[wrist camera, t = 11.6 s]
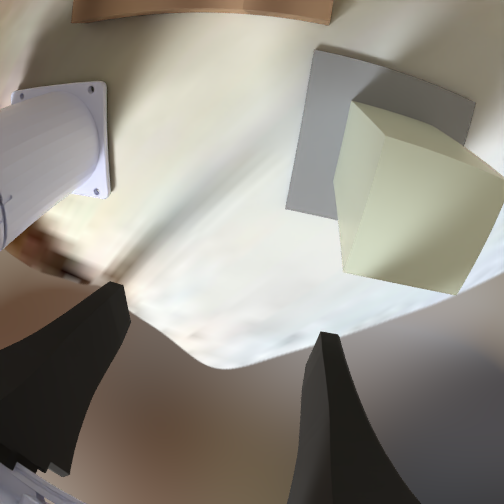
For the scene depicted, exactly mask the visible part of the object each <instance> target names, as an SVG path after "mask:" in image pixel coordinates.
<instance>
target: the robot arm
mask: <svg viewBox="0 0 504 504" xmlns="http://www.w3.org/2000/svg"><path fill="white" fill-rule="evenodd" d="M92 86H93V87H94V92H92V90H91V88H92ZM23 95H24V96H23ZM97 189H98V190H99V192H100V193H99V192H98V191H97ZM69 194H77V195H83V196H89V197H95V198H101V199H106V198H107V197H109V196H110V194H111V188H110V175H109V161H108V141H107V86H106V84H105V82H103V81H90V82H77V83H66V84H57V85H49V86H42V87H35V88H28V89H22V90H17V91H14V92H13V93H12V95H11V105H10V106H8V107H5V108H2V109H0V251H1V250H3V249H4V248H5V247H6V246H7V245H8V244H9V243H10V242H11V241H12V240H14V239H15V238H16V237H17V236H18V235H19V234H20V233H22V232H23V231H24V230H25V229H26V228H28V227H29V226H30V225H31V224H32V223H34V222H35V221H36V220H37V219H38V218H40V217H41V216H42V215H43V214H45V213H46V212H47V211H48V210H50V209H51V208H52V207H53V206H55V205H56V204H57V203H59V202H60V201H61V200H63V199H64V198H65V197H67V196H68V195H69ZM130 323H131V320H130V315H129V311H128V306H127V301H126V296H125V291H124V286H123V285H121V284H117V283H114V282H111V281H110V282H108V283H107V284H105V285H104V286H102V287H101V288H100V289H98V290H97V291H95V292H94V293H93V294H91V295H90V296H88V297H87V298H86V299H84V300H83V301H81V302H80V303H79V304H77V305H76V306H74V307H73V308H72V309H70V310H69V311H68V312H66V313H65V314H63V315H62V316H60V317H59V318H57V319H56V320H54V321H53V322H51V323H50V324H48V325H47V326H45V327H44V328H42V329H40V330H39V331H37V332H35V333H33V334H32V335H30V336H28V337H26V338H24V339H23V340H21V341H19V342H17V343H14V344H12V345H11V346H8V347H6V348H4V349H1V350H0V504H49V503H47V502H45V500H44V497H45V498H47V499H48V500H50V501H52V502H53V503H55V504H87V503H85V502H83V501H81V500H79V499H77V498H75V497H73V496H72V495H70V494H68V493H66V492H64V491H63V490H61V489H59V488H57V487H56V486H54V485H52V484H51V483H49V482H47V481H46V480H44V479H43V478H41V477H39V476H38V475H36V472H37V469H39V470H40V471H42V472H44V473H46V471H47V469H49V470H51V471H53V472H54V473H56V474H58V475H60V476H61V477H65V476H68V475H70V469H71V464H72V459H73V455H74V450H75V447H76V443H77V440H78V436H79V432H80V429H81V427H82V423H83V420H84V418H85V414H86V412H87V410H88V407H89V405H90V402H91V399H92V397H93V395H94V393H95V391H96V389H97V387H98V385H99V383H100V382H101V380H102V378H103V376H104V374H105V373H106V371H107V369H108V367H109V366H110V364H111V362H112V360H113V359H114V357H115V355H116V353H117V352H118V350H119V348H120V346H121V345H122V342H123V340H124V338H125V335H126V333H127V330H128V328H129V326H130ZM287 504H421V503H420V502H419V501H418V499H417V498H416V497H415V496H414V494H412V492H411V491H410V490H409V488H408V486H407V485H406V484H405V483H404V481H403V480H402V478H401V477H400V475H399V474H398V472H397V471H396V469H395V467H394V466H393V464H392V463H391V461H390V459H389V458H388V456H387V455H386V454H385V451H384V449H383V448H382V446H381V444H380V442H379V440H378V438H377V436H376V434H375V433H374V431H373V429H372V427H371V424H370V422H369V420H368V418H367V416H366V413H365V411H364V408H363V406H362V404H361V401H360V399H359V396H358V394H357V391H356V388H355V385H354V383H353V380H352V377H351V374H350V371H349V368H348V365H347V362H346V359H345V355H344V352H343V348H342V345H341V341H340V337H339V336H338V334H332V333H327V332H320V334H319V336H318V339H317V341H316V343H315V346H314V348H313V350H312V353H311V355H310V357H309V359H308V361H307V364H306V367H305V374H304V380H303V386H302V397H301V416H300V433H299V447H298V455H297V460H296V465H295V471H294V476H293V480H292V485H291V489H290V494H289V498H288V502H287Z"/></svg>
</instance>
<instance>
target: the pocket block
mask: <svg viewBox="0 0 504 504" xmlns="http://www.w3.org/2000/svg"><path fill="white" fill-rule="evenodd" d="M332 7H333V0H74V2H73V10H72V20H71V23H91V22H96V21H102V20H108V19H115V18H122V17H130V16H139V15H149V14H163V13H185V12H217V13H240V14H253V15H264V16H273V17H281V18H289V19H296V20H302V21H308V22H313V23H319V24H324V25H329V23H330V20H331V13H332Z"/></svg>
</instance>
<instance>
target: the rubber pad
mask: <svg viewBox="0 0 504 504" xmlns="http://www.w3.org/2000/svg"><path fill="white" fill-rule="evenodd" d="M351 101H355V102H359V103H363V104H367V105H370V106H374V107H377V108H381V109H384V110H388V111H391V112H394V113H397V114H401V115H404V116H407V117H410V118H413V119H416V120H419V121H421V122H424V123H427V124H430V125H432V126H434V127H435V128H437V129H439V130H440V131H442V132H443V133H445V134H446V135H448V136H449V137H451V138H452V139H454V140H455V141H457V142H458V143H460V144H461V145H462V146H464V144H465V140H466V137H467V134H468V130H469V127H470V123H471V120H472V116H473V112H474V108H475V104H476V103H475V102H473V101H471V100H469V99H467V98H464V97H462V96H460V95H458V94H456V93H453V92H451V91H449V90H446V89H444V88H442V87H439V86H437V85H434V84H432V83H429V82H426V81H424V80H421V79H418V78H416V77H413V76H410V75H407V74H404V73H401V72H398V71H395V70H392V69H389V68H386V67H383V66H379V65H376V64H372V63H369V62H365V61H362V60H358V59H354V58H350V57H346V56H342V55H338V54H333V53H329V52H324V51H319V50H314V54H313V60H312V66H311V72H310V78H309V83H308V89H307V95H306V101H305V106H304V112H303V117H302V123H301V129H300V134H299V139H298V145H297V150H296V156H295V161H294V166H293V171H292V177H291V182H290V187H289V192H288V197H287V202H286V207H285V209H288V210H293V211H297V212H302V213H307V214H311V215H316V216H321V217H325V218H330V219H334V220H338V215H337V206H336V198H335V191H334V183H333V179H334V175H335V171H336V167H337V163H338V158H339V154H340V150H341V146H342V141H343V137H344V132H345V128H346V123H347V118H348V114H349V109H350V104H351Z"/></svg>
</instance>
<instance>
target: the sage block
mask: <svg viewBox="0 0 504 504" xmlns="http://www.w3.org/2000/svg"><path fill="white" fill-rule="evenodd" d="M333 183H334V191H335V198H336V206H337V215H338V224H339V233H340V243H341V254H342V266H343V272H344V273H348V274H353V275H358V276H363V277H368V278H373V279H378V280H383V281H388V282H392V283H397V284H402V285H407V286H412V287H417V288H422V289H427V290H432V291H437V292H442V293H446V294H451V295H457V293H458V292H459V290H460V288H461V287H462V285H463V283H464V282H465V280H466V278H467V276H468V275H469V273H470V271H471V269H472V267H473V266H474V264H475V262H476V260H477V258H478V256H479V254H480V252H481V250H482V248H483V246H484V244H485V242H486V240H487V238H488V236H489V234H490V232H491V230H492V228H493V226H494V224H495V221H496V219H497V217H498V215H499V212H500V210H501V208H502V206H503V203H504V177H503V176H502V175H501V174H500V173H498V172H497V171H496V170H495V169H493V168H492V167H491V166H490V165H488V164H487V163H486V162H484V161H483V160H482V159H480V158H479V157H478V156H476V155H475V154H474V153H472V152H471V151H470V150H468V149H467V148H465V147H464V146H462V145H461V144H460V143H458V142H457V141H455V140H454V139H452V138H451V137H449V136H448V135H446V134H445V133H443V132H442V131H440V130H439V129H437V128H435V127H434V126H432V125H430V124H427V123H424V122H421V121H419V120H416V119H413V118H410V117H407V116H404V115H401V114H397V113H394V112H391V111H388V110H384V109H381V108H377V107H374V106H370V105H367V104H363V103H359V102H355V101H351V104H350V109H349V114H348V118H347V123H346V128H345V132H344V137H343V141H342V146H341V150H340V154H339V158H338V163H337V167H336V171H335V175H334V179H333Z"/></svg>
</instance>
